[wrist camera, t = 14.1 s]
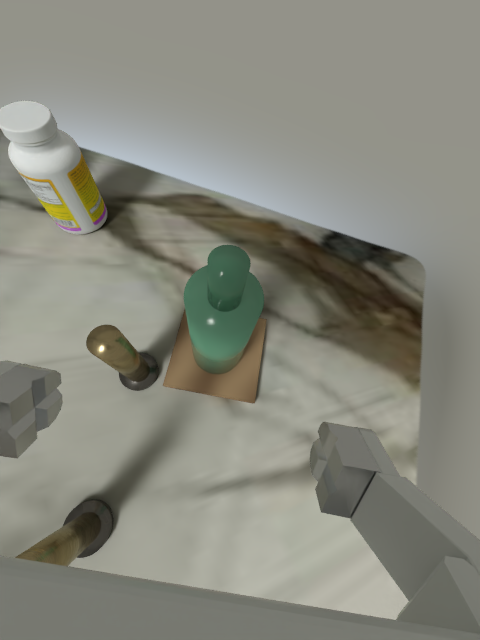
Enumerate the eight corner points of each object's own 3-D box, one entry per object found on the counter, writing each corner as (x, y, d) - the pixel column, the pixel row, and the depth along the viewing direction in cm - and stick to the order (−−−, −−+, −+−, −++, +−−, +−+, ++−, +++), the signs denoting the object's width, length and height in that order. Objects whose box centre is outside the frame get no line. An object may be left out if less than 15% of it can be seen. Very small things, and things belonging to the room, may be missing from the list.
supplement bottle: (100, 194, 38) (53, 89, 27) (115, 227, 36) (71, 129, 25) (50, 207, 36) (-24, 100, 25) (63, 243, 34) (-10, 145, 23)
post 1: (56, 550, 23) (-64, 644, 13) (76, 496, 24) (-17, 540, 14) (103, 558, 23) (21, 657, 13) (119, 503, 24) (58, 553, 14)
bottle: (187, 369, 29) (165, 295, 14) (198, 323, 31) (191, 214, 16) (237, 378, 29) (272, 316, 14) (245, 332, 32) (282, 234, 16)
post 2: (115, 386, 28) (64, 361, 18) (127, 351, 30) (87, 310, 20) (152, 393, 28) (122, 372, 18) (162, 358, 30) (140, 320, 20)
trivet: (164, 386, 29) (162, 385, 28) (186, 305, 33) (186, 303, 32) (253, 403, 29) (254, 402, 28) (265, 321, 33) (266, 319, 33)
